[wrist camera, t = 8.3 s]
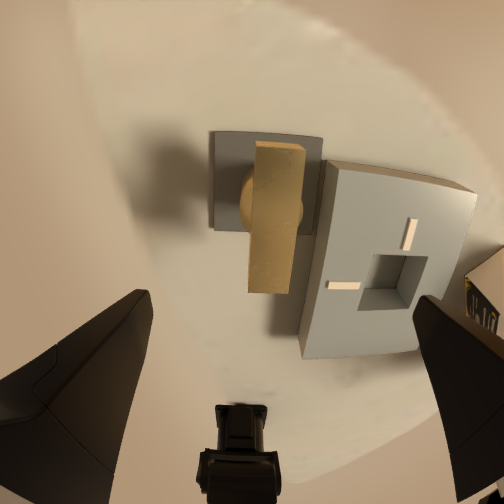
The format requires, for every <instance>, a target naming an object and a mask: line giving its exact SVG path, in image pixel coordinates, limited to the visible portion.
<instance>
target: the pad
mask: <svg viewBox="0 0 504 504" xmlns="http://www.w3.org/2000/svg"><path fill="white" fill-rule="evenodd" d="M255 141H266V142H280V143H292V144H299V145H300V146H302V147H303V148H304V149H306V158H305V167H304V177H303V186H302V195H301V201H302V204H303V216H302V220H301V222H300V224H299V226H298V228H297V234H304V235H311V233H312V226H313V219H314V212H315V205H316V197H317V189H318V181H319V172H320V163H321V154H322V144H323V138H318V137H309V136H300V135H288V134H275V133H259V132H233V131H215V155H214V231H235V232H248V231H247V230H246V229H245V228H244V226H243V224H242V222H241V219H240V215H239V208H240V198H241V188H242V180H243V177H244V175H245V173H246V171H247V170H248V169H249V168H250V167H251V166H253V165H254V156H255Z"/></svg>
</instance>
